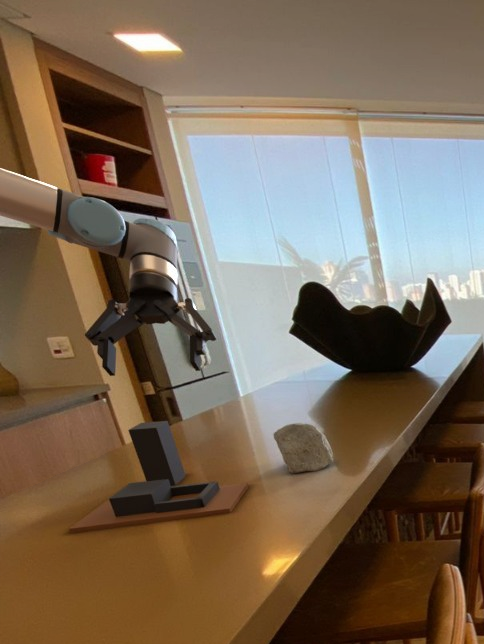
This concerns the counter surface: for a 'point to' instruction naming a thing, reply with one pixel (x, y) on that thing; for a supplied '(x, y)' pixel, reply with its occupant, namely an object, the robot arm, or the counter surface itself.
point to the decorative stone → (303, 447)
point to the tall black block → (157, 451)
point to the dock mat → (161, 504)
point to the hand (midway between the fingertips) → (153, 369)
